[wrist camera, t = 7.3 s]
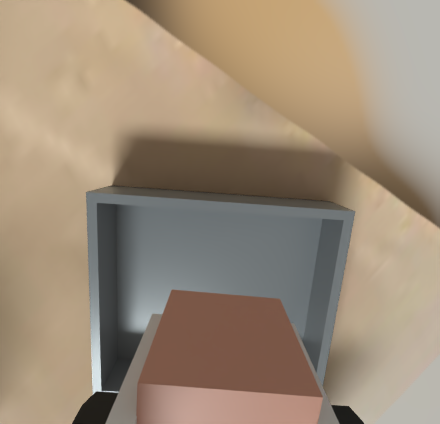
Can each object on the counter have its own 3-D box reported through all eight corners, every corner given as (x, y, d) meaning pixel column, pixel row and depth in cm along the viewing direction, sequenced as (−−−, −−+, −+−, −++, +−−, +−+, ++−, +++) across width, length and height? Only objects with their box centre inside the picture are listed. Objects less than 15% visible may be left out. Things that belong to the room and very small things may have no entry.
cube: (265, 389, 13) (294, 531, 8) (165, 381, 13) (132, 520, 8) (280, 298, 12) (323, 397, 7) (171, 289, 12) (137, 383, 7)
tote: (301, 368, 30) (318, 409, 25) (113, 357, 29) (92, 397, 24) (329, 201, 26) (355, 211, 21) (111, 185, 25) (86, 192, 20)
